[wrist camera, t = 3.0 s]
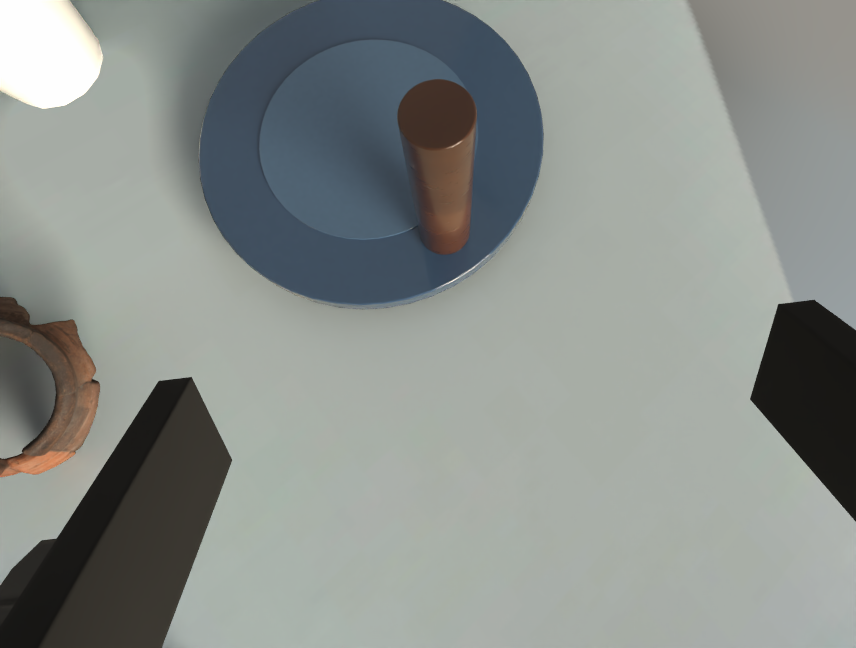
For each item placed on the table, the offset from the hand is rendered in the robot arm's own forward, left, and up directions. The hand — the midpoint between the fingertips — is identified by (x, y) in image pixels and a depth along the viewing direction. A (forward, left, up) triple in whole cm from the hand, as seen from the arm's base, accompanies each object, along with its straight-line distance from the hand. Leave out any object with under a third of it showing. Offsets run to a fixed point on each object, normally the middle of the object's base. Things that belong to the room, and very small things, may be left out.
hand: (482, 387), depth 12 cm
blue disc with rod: (-13, +8, -14) cm, 21 cm away
